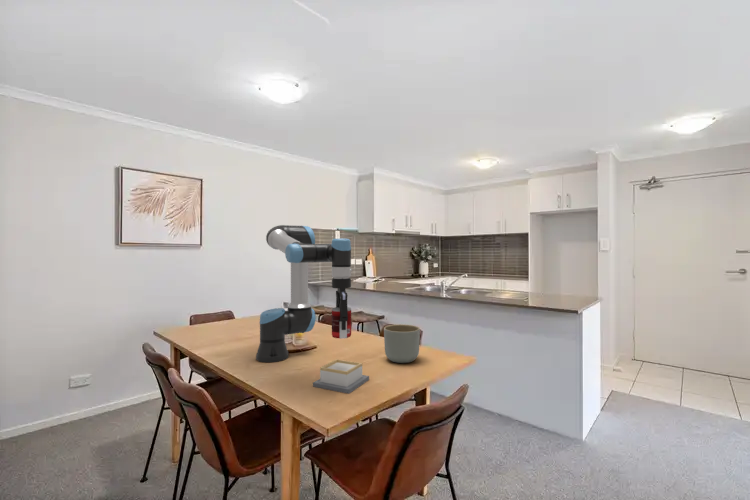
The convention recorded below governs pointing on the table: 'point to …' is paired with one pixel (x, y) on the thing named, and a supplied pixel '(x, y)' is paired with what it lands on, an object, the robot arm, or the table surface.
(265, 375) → the table surface
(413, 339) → the planter
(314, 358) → the table surface
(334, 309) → the canned food
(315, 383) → the base
